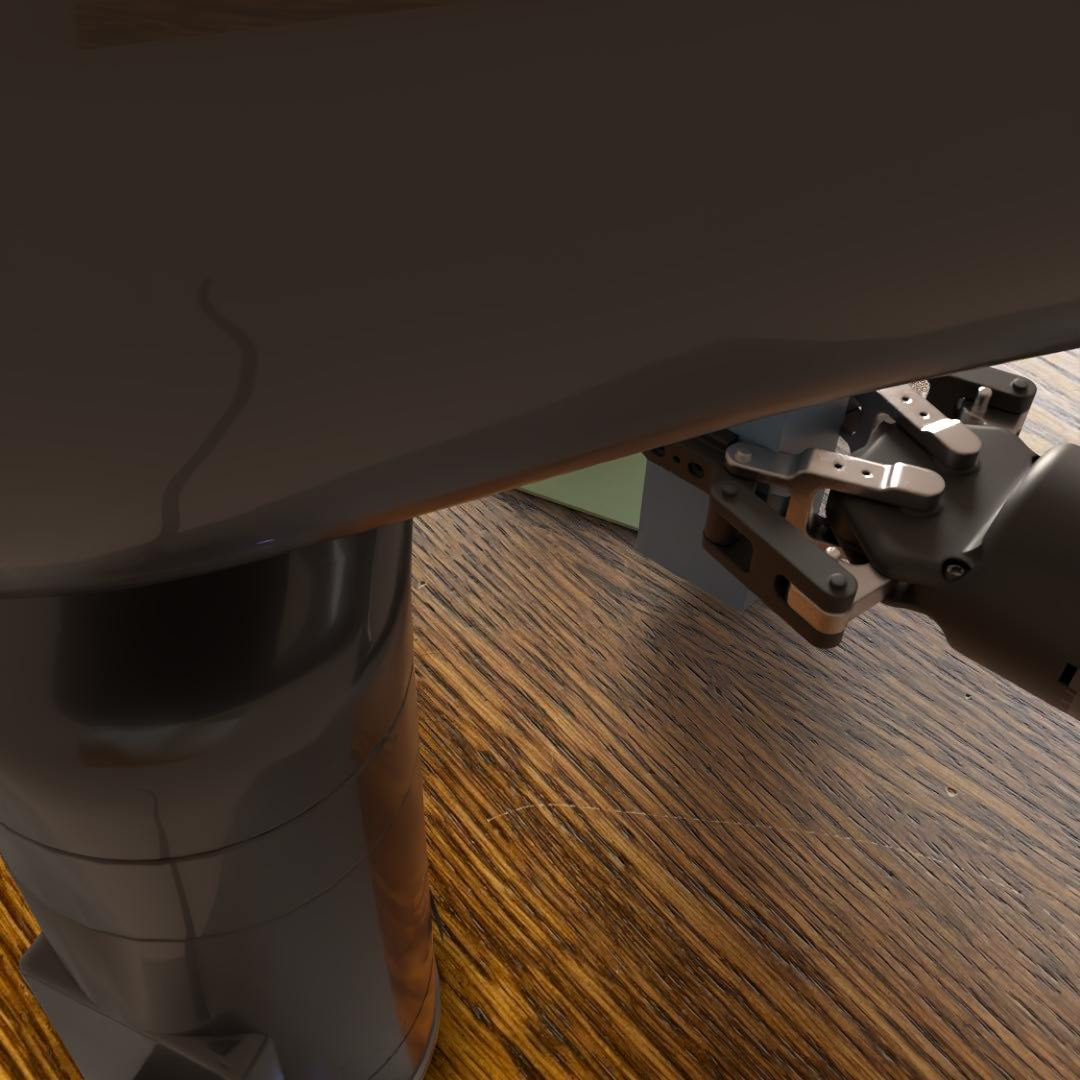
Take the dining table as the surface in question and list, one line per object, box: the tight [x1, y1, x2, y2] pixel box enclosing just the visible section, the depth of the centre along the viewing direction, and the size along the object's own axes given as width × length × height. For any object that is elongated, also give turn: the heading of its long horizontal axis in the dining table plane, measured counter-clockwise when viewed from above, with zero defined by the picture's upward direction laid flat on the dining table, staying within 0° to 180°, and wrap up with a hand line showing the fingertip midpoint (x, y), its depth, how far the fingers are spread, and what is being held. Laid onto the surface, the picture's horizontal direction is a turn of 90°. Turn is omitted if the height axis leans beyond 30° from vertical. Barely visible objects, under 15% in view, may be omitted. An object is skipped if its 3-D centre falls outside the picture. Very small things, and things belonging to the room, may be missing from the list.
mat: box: [514, 452, 647, 532], centre depth 57 cm, size 11×11×1 cm
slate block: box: [635, 397, 850, 615], centre depth 46 cm, size 5×5×10 cm
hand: (689, 379), depth 46 cm, fingers closed on slate block, 5 cm apart
